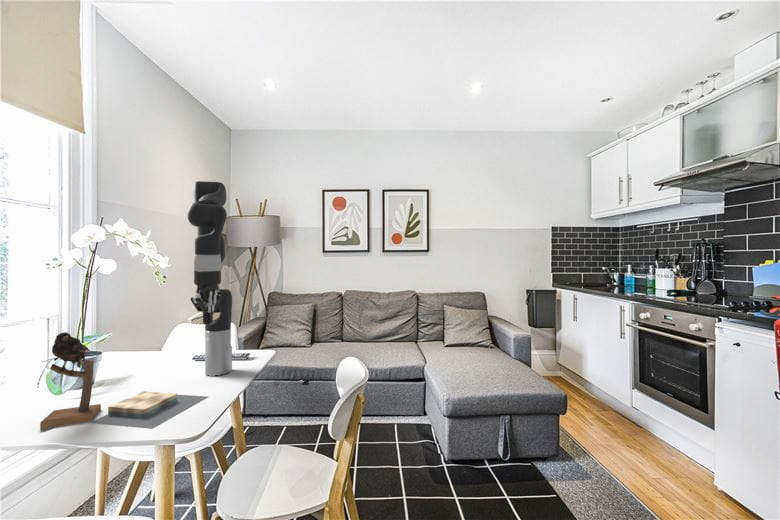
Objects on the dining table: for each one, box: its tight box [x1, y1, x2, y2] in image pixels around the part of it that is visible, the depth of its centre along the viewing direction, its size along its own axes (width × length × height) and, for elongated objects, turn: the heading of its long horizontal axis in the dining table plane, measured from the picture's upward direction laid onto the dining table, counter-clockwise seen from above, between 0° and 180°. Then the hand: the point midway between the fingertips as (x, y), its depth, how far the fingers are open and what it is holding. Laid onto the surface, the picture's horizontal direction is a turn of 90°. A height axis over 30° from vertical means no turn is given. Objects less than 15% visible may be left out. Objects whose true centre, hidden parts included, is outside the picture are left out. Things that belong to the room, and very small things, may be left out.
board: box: [107, 391, 178, 418], centre depth 106 cm, size 12×2×12 cm
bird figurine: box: [39, 332, 102, 431], centre depth 101 cm, size 11×14×25 cm
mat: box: [89, 394, 209, 429], centre depth 105 cm, size 22×20×1 cm
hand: (207, 323), depth 110 cm, fingers closed
